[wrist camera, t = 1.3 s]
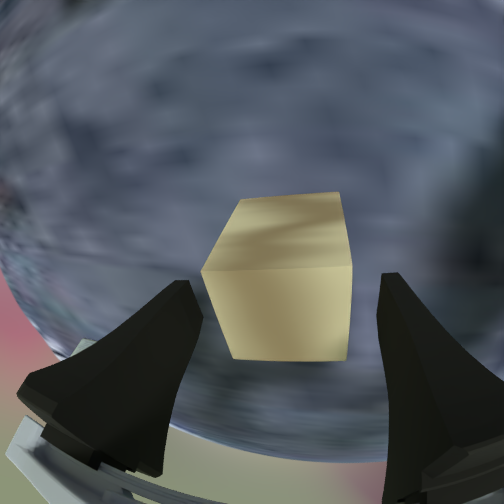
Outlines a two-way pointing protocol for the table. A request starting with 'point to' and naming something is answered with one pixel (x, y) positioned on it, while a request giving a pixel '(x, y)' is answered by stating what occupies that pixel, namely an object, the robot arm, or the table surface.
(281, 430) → the table surface
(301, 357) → the oak block
